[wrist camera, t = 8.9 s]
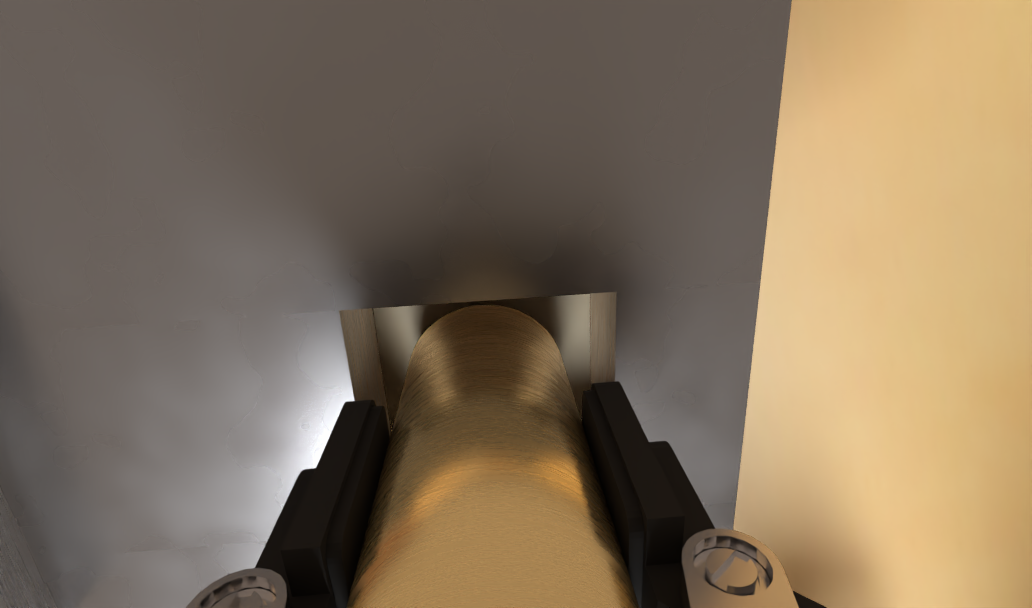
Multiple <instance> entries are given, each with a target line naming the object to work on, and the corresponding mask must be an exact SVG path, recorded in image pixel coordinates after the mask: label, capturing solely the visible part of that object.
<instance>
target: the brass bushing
mask: <svg viewBox="0 0 1032 608" xmlns="http://www.w3.org/2000/svg"><path fill="white" fill-rule="evenodd" d="M346 608H639V605H638V601H637V598H636V595H635V592H634V589H633V585H632V582H631V579H630V576H629V573H628V569H627V566H626V563H625V560H624V556H623V553H622V550H621V547H620V544H619V540H618V537H617V534H616V531H615V528H614V524H613V521H612V518H611V515H610V511H609V508H608V505H607V502H606V499H605V495H604V492H603V489H602V486H601V483H600V479H599V476H598V473H597V470H596V466H595V463H594V460H593V457H592V454H591V450H590V447H589V444H588V441H587V438H586V434H585V431H584V428H583V425H582V422H581V418H580V415H579V412H578V409H577V405H576V402H575V399H574V396H573V393H572V389H571V386H570V383H569V380H568V377H567V373H566V370H565V367H564V364H563V360H562V357H561V354H560V351H559V349H558V347H557V344H556V343H555V341H554V339H553V338H552V336H551V335H550V334H549V332H548V331H547V330H546V329H545V328H544V327H543V326H542V325H541V324H540V323H539V322H537V321H536V320H535V319H533V318H532V317H530V316H528V315H526V314H525V313H523V312H520V311H518V310H515V309H513V308H509V307H504V306H498V305H476V306H469V307H465V308H461V309H458V310H456V311H453V312H451V313H449V314H447V315H445V316H443V317H442V318H440V319H439V320H437V321H436V322H435V323H433V324H432V325H431V326H430V327H429V328H428V329H427V330H426V331H425V332H424V334H423V335H422V336H421V337H420V339H419V340H418V342H417V344H416V346H415V348H414V350H413V353H412V355H411V359H410V362H409V366H408V370H407V374H406V378H405V382H404V386H403V390H402V394H401V397H400V401H399V405H398V409H397V413H396V417H395V421H394V425H393V428H392V432H391V436H390V440H389V444H388V448H387V452H386V456H385V459H384V463H383V467H382V471H381V475H380V479H379V483H378V487H377V491H376V494H375V498H374V502H373V506H372V510H371V514H370V518H369V522H368V525H367V529H366V533H365V537H364V541H363V545H362V549H361V553H360V556H359V560H358V564H357V568H356V572H355V576H354V580H353V584H352V588H351V591H350V595H349V599H348V603H347V607H346Z"/></svg>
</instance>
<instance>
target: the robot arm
mask: <svg viewBox="0 0 1032 608" xmlns="http://www.w3.org/2000/svg"><path fill="white" fill-rule="evenodd" d="M582 425H583V428H584V431H585V434H586V438H587V441H588V444H589V447H590V450H591V454H592V457H593V460H594V463H595V466H596V470H597V473H598V476H599V479H600V483H601V486H602V489H603V492H604V495H605V499H606V502H607V505H608V508H609V511H610V515H611V518H612V521H613V524H614V528H615V531H616V534H617V537H618V540H619V544H620V547H621V550H622V553H623V556H624V560H625V563H626V566H627V569H628V573H629V576H630V579H631V582H632V585H633V589H634V592H635V595H636V598H637V601H638V605H639V608H826V607H824V606H822V605H820V604H818V603H816V602H814V601H812V600H810V599H808V598H806V597H804V596H802V595H800V594H798V593H796V592H794V591H792V589H791V586H790V584H789V581H788V579H787V576H786V574H785V571H784V569H783V566H782V565H781V563H780V561H779V560H778V558H777V556H776V555H775V554H774V553H773V552H772V551H771V550H770V549H769V548H768V547H767V546H766V545H765V544H763V543H761V542H760V541H758V540H756V539H755V538H753V537H752V536H749V535H746V534H744V533H741V532H738V531H734V530H728V529H715V527H714V525H713V523H712V521H711V519H710V518H709V516H708V514H707V512H706V510H705V508H704V506H703V505H702V503H701V501H700V499H699V497H698V495H697V493H696V492H695V490H694V488H693V486H692V484H691V482H690V481H689V479H688V477H687V475H686V473H685V471H684V469H683V468H682V466H681V464H680V462H679V460H678V458H677V456H676V455H675V453H674V451H673V449H672V447H671V446H670V444H669V443H668V442H667V441H656V442H649V441H648V439H647V437H646V435H645V433H644V431H643V429H642V427H641V425H640V423H639V420H638V418H637V416H636V414H635V412H634V410H633V408H632V406H631V404H630V402H629V400H628V398H627V396H626V394H625V392H624V389H623V387H622V385H621V383H620V382H619V381H616V382H602V383H592V387H591V390H588V391H583V394H582ZM389 440H390V435H389V428H388V422H387V415H386V410H385V407H384V406H376V404H375V401H374V400H360V401H347V402H345V403H344V405H343V407H342V409H341V411H340V414H339V416H338V418H337V421H336V423H335V425H334V428H333V430H332V432H331V434H330V437H329V439H328V441H327V444H326V446H325V448H324V451H323V453H322V455H321V458H320V460H319V462H318V464H317V467H316V468H313V469H304V470H302V471H301V472H300V474H299V475H298V477H297V479H296V481H295V484H294V486H293V488H292V490H291V492H290V494H289V496H288V498H287V500H286V503H285V505H284V507H283V509H282V511H281V513H280V515H279V517H278V520H277V522H276V524H275V526H274V528H273V530H272V532H271V534H270V537H269V539H268V541H267V543H266V545H265V547H264V549H263V551H262V554H261V556H260V558H259V560H258V562H257V564H256V566H255V568H252V569H243V570H240V571H237V572H234V573H231V574H228V575H226V576H224V577H222V578H220V579H218V580H216V581H215V582H213V583H211V584H210V585H209V586H207V587H206V588H205V589H203V590H202V591H201V592H199V593H198V594H197V595H196V596H195V597H194V599H193V600H192V601H191V602H190V603H189V604H188V605H187V606H186V608H346V607H347V603H348V599H349V595H350V591H351V588H352V584H353V580H354V576H355V572H356V568H357V564H358V560H359V556H360V553H361V549H362V545H363V541H364V537H365V533H366V529H367V525H368V522H369V518H370V514H371V510H372V506H373V502H374V498H375V494H376V491H377V487H378V483H379V479H380V475H381V471H382V467H383V463H384V459H385V456H386V452H387V448H388V444H389Z"/></svg>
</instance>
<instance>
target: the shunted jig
mask: <svg viewBox="0 0 1032 608" xmlns="http://www.w3.org/2000/svg"><path fill="white" fill-rule="evenodd" d="M791 1H792V0H0V608H186V606H187V605H188V604H189V603H190V602H191V601H192V600H193V599H194V597H195V596H196V595H197V594H198V593H199V592H201V591H202V590H203V589H205V588H206V587H207V586H209V585H210V584H211V583H213V582H215V581H216V580H218V579H220V578H222V577H224V576H226V575H228V574H231V573H234V572H237V571H240V570H243V569H252V568H255V566H256V564H257V562H258V560H259V558H260V556H261V554H262V551H263V549H264V547H265V545H266V543H267V541H268V539H269V537H270V534H271V532H272V530H273V528H274V526H275V524H276V522H277V520H278V517H279V515H280V513H281V511H282V509H283V507H284V505H285V503H286V500H287V498H288V496H289V494H290V492H291V490H292V488H293V486H294V484H295V481H296V479H297V477H298V475H299V474H300V472H301V471H302V470H304V469H313V468H316V467H317V464H318V462H319V460H320V458H321V455H322V453H323V451H324V448H325V446H326V444H327V441H328V439H329V437H330V434H331V432H332V430H333V428H334V425H335V423H336V421H337V418H338V416H339V414H340V411H341V409H342V407H343V405H344V403H345V402H347V401H360V400H374V401H375V404H376V406H384V407H385V410H386V415H387V422H388V428H389V435H390V436H391V429H390V422H389V415H388V409H387V402H386V396H385V389H384V382H383V376H382V369H381V362H380V356H379V349H378V342H377V336H376V329H375V323H374V316H373V309H372V308H383V307H398V306H413V305H428V304H443V303H457V302H472V301H487V300H502V299H517V298H532V297H546V296H561V295H576V294H590V380H591V387H592V383H602V382H616V381H619V382H620V383H621V385H622V387H623V389H624V392H625V394H626V396H627V398H628V400H629V402H630V404H631V406H632V408H633V410H634V412H635V414H636V416H637V418H638V420H639V423H640V425H641V427H642V429H643V431H644V433H645V435H646V437H647V439H648V441H649V442H656V441H667V442H668V443H669V444H670V446H671V447H672V449H673V451H674V453H675V455H676V456H677V458H678V460H679V462H680V464H681V466H682V468H683V469H684V471H685V473H686V475H687V477H688V479H689V481H690V482H691V484H692V486H693V488H694V490H695V492H696V493H697V495H698V497H699V499H700V501H701V503H702V505H703V506H704V508H705V510H706V512H707V514H708V516H709V518H710V519H711V521H712V523H713V525H714V527H715V529H728V530H733V524H734V515H735V506H736V497H737V488H738V479H739V470H740V461H741V452H742V443H743V434H744V425H745V416H746V407H747V398H748V389H749V380H750V371H751V362H752V353H753V344H754V335H755V326H756V317H757V308H758V299H759V290H760V281H761V271H762V262H763V253H764V244H765V235H766V226H767V217H768V208H769V199H770V190H771V181H772V172H773V163H774V154H775V145H776V136H777V127H778V118H779V109H780V100H781V91H782V82H783V73H784V64H785V55H786V46H787V37H788V28H789V19H790V10H791Z"/></svg>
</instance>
